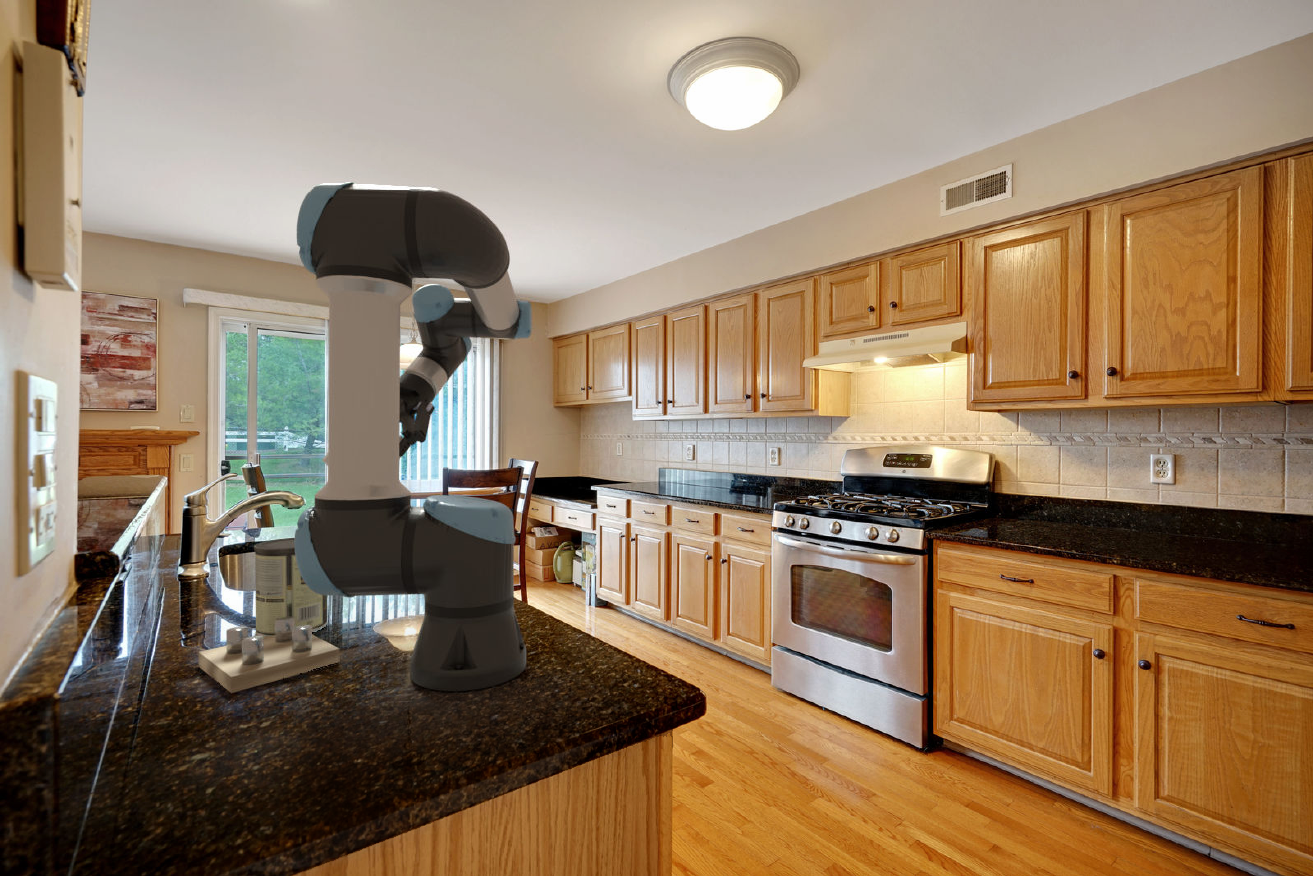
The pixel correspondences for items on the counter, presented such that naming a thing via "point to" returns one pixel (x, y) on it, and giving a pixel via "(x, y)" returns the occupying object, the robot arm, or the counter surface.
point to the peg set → (255, 645)
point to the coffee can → (284, 589)
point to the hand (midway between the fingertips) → (354, 466)
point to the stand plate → (265, 663)
